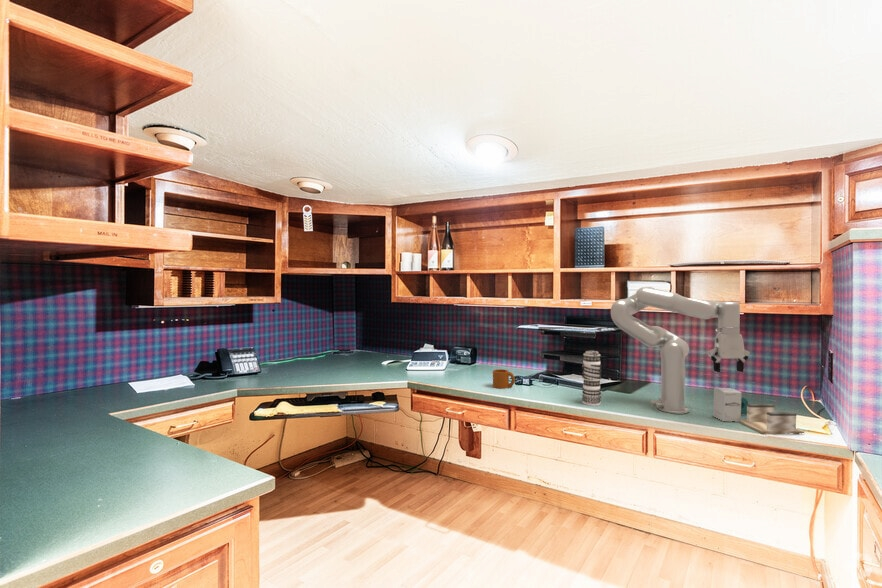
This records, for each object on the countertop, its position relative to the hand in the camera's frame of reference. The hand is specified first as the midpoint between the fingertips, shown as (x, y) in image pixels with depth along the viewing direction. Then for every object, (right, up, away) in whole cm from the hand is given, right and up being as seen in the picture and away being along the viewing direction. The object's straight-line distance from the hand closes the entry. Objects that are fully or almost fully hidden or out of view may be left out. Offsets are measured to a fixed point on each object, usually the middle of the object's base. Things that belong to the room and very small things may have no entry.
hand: (728, 371), depth 181 cm
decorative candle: (-49, -20, +25) cm, 59 cm away
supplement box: (0, -21, +1) cm, 21 cm away
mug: (-87, -19, +56) cm, 105 cm away
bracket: (+15, -21, +11) cm, 28 cm away
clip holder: (+10, -21, -10) cm, 25 cm away
